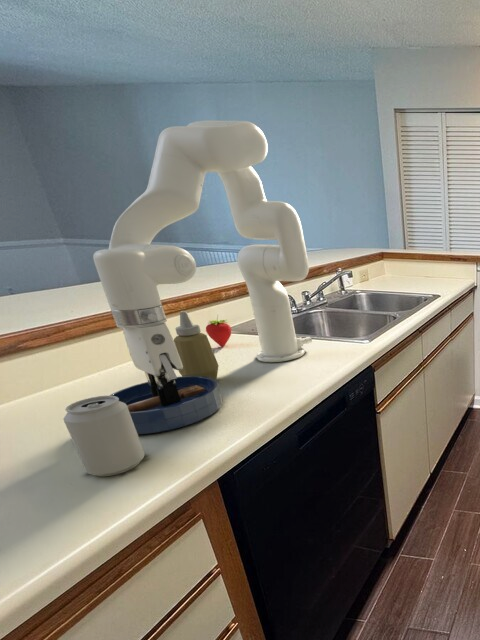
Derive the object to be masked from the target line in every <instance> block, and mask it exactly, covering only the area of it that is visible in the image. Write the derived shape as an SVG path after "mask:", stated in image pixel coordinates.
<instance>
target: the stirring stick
mask: <svg viewBox="0 0 480 640" xmlns="http://www.w3.org/2000/svg"><path fill="white" fill-rule="evenodd" d="M204 391H205V389H204V388H202V387H200V386H197V385H196V386H190V387H187V388H184V389H180V390H178V394H179V397H180V399H183V398H187V397H190V396H193V395H196V394H198V393H201V392H204ZM158 406H161V402H160V399H159V396H156V397H153V398H150V399H146V400H143V401H139V402H136V403H133V404H129V405H127V407H128V410H129V412H139V411H145V410H148V409H151V408H154V407H158Z"/></svg>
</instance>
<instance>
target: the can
mask: <svg viewBox="0 0 480 640" xmlns="http://www.w3.org/2000/svg"><path fill="white" fill-rule="evenodd" d="M65 411H66V414H65V415H64V417H63V418H62V419H63V422H64V425H65V427H66V429H67V431H68V433H69V436H70V438H71V440H72V443H73V445H74V447H75V450H76V452H77V454H78V456H79V459H80V461H81V463H82V465H83V468H84V470H85V472H86V473H87V474H89V475H93V476H97V477H110V476H116V475H119V474H122V473H126V472H128V471H130V470H132V469H134V468H135V467H137V466H139V464H140V463H141V461H142V460H143V459H144V458H145V454H146V453H145V451H144V448H143V446H142V442H141V440H140V437H139V434H137V432H136V429H135V426H134V423H133V421H132V418H131V415H130V412H129V410H128V407H127V405H126V404H125V403H123V402H120V401H119V398H118V397H116V396H109V395H99V396H98V395H97V396H91V397H88V398H84V399H80V400H77V401H75V402H73V403H70V404H69V405H68V406H66V408H65Z"/></svg>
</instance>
